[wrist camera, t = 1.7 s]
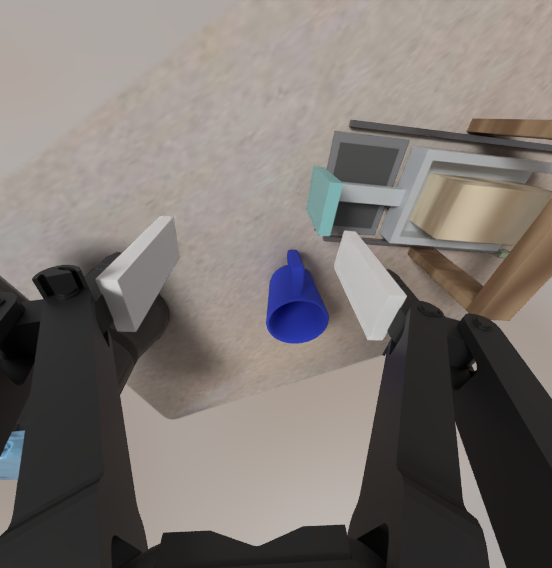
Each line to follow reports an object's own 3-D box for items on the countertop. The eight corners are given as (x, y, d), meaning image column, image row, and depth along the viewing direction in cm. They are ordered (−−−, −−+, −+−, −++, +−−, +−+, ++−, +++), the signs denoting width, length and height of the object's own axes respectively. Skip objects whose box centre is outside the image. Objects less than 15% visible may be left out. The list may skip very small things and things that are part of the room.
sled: (300, 227, 33) (312, 261, 25) (316, 134, 26) (338, 142, 19) (480, 241, 35) (540, 276, 28) (534, 160, 29) (632, 176, 21)
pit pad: (314, 230, 34) (314, 230, 33) (334, 131, 27) (335, 131, 26) (373, 234, 34) (374, 235, 34) (408, 139, 27) (410, 140, 27)
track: (322, 241, 35) (323, 244, 34) (351, 115, 26) (354, 115, 25) (504, 254, 37) (510, 258, 36) (586, 145, 29) (597, 146, 28)
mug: (318, 233, 34) (336, 270, 26) (313, 297, 41) (326, 342, 33) (262, 236, 34) (262, 274, 26) (267, 300, 41) (268, 345, 33)
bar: (409, 220, 32) (435, 239, 27) (430, 172, 28) (465, 184, 24) (488, 227, 33) (527, 246, 28) (518, 182, 30) (568, 195, 25)
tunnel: (407, 253, 37) (475, 319, 25) (472, 118, 26) (639, 121, 15) (431, 255, 37) (509, 320, 25) (504, 122, 27) (691, 128, 15)
